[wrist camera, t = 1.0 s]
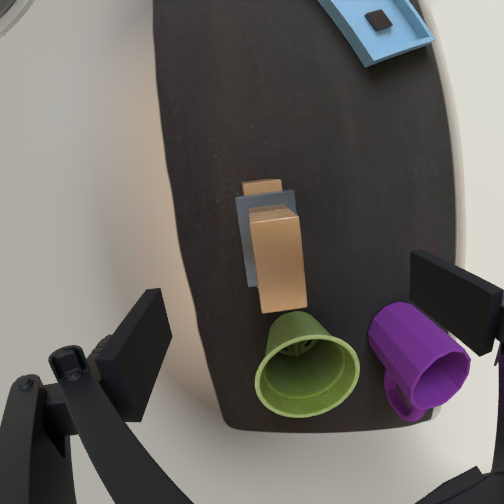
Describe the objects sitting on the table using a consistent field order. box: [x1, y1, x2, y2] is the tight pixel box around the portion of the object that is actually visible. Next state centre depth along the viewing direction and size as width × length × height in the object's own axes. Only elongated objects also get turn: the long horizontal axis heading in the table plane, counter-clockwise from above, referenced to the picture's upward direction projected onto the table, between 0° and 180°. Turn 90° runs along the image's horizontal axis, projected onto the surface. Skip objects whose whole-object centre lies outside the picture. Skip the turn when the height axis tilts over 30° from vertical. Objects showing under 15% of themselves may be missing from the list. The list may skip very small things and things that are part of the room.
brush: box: [235, 190, 307, 313], centre depth 24 cm, size 8×5×10 cm, turn 8°
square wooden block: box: [242, 179, 282, 288], centre depth 34 cm, size 10×4×10 cm, turn 8°
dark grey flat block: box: [364, 9, 393, 32], centre depth 31 cm, size 3×3×1 cm
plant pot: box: [255, 311, 360, 418], centre depth 37 cm, size 12×12×11 cm
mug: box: [368, 302, 471, 421], centre depth 37 cm, size 9×16×15 cm, turn 2°
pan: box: [317, 0, 435, 68], centre depth 30 cm, size 18×13×3 cm
